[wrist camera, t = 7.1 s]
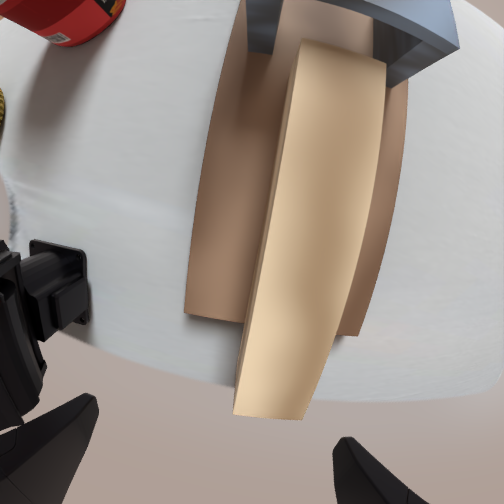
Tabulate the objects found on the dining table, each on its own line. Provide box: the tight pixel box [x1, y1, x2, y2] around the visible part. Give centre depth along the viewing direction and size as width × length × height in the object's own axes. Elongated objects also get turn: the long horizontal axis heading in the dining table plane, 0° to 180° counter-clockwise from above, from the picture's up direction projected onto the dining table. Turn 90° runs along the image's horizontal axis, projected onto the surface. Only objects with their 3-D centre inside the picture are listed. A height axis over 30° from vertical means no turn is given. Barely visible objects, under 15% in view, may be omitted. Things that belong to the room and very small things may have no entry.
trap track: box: [184, 0, 460, 336], centre depth 11 cm, size 12×30×10 cm, turn 170°
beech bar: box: [233, 38, 386, 420], centre depth 14 cm, size 4×19×5 cm, turn 170°
